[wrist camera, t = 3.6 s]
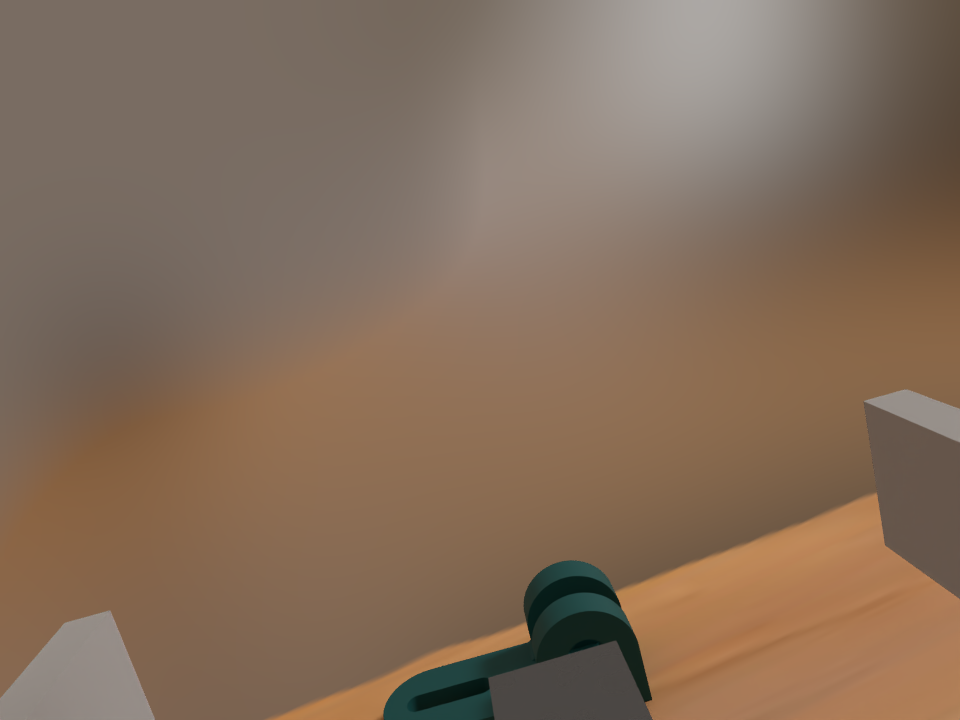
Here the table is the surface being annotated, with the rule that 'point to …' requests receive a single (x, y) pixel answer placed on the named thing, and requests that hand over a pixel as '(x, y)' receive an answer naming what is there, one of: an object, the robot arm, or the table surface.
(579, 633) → the bracket
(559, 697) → the dark grey block
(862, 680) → the table surface
